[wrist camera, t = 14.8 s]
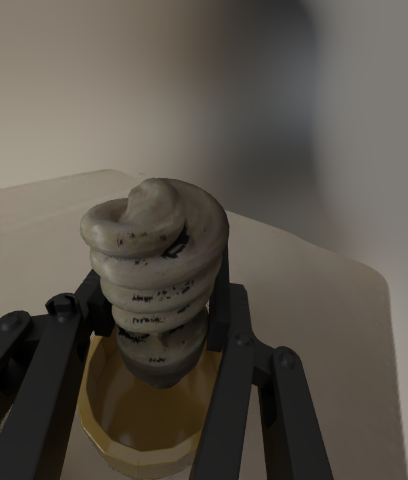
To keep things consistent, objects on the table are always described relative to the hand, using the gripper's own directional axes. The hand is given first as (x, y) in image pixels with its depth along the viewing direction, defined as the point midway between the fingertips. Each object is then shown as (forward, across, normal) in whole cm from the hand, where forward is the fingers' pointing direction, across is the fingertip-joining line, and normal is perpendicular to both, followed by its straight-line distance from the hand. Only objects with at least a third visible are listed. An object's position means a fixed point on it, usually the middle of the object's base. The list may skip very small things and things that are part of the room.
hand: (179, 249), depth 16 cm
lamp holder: (-5, 0, -10) cm, 11 cm away
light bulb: (-5, 0, -8) cm, 10 cm away
